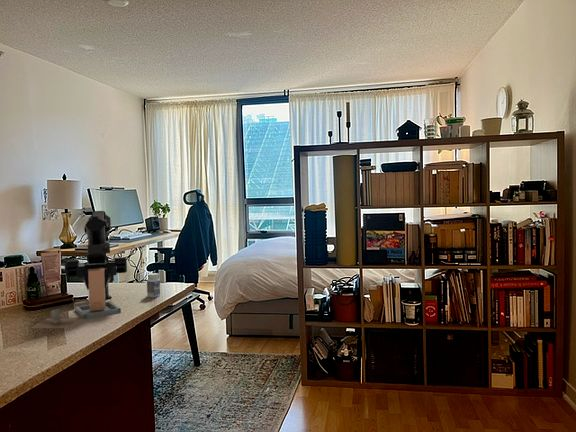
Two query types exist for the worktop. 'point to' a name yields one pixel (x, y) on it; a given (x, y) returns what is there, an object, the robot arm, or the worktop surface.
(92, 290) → the tan rectangular prism
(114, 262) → the robot arm
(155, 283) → the pill bottle
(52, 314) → the peg on square base
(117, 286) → the worktop surface
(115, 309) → the tray
